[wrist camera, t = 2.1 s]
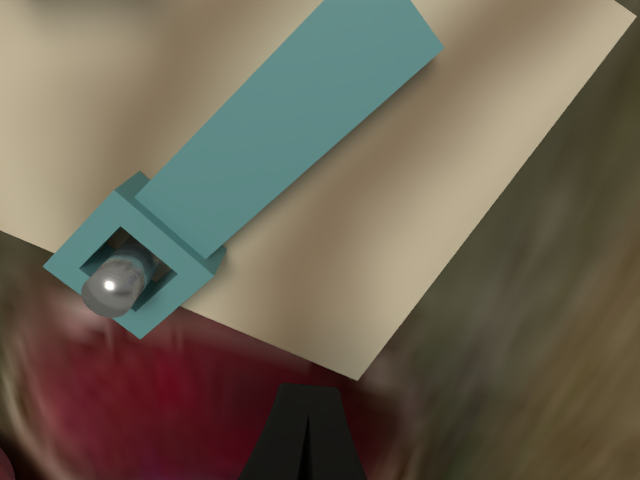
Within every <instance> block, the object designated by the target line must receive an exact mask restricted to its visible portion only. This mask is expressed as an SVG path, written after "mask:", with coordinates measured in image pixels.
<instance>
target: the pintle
mask: <svg viewBox="0 0 640 480" xmlns="http://www.w3.org/2000/svg"><path fill="white" fill-rule="evenodd" d="M162 264H163V261H162V260H161V259H159V258H158V257H157V256H156V255H155V254H153V253H152V252H151V251H150V250H149V249H147V248H146V247H145V246H144V245H143V244H141V243H140V242H139V241H138V240H137V239H135V238H134V237H133V236H132V235H130V236H129V237H128V238H127V239H126V240H125V241H124V243H123V244H122V245H121V246H120V247H119V248H118V249H117V250H116V251H115V252H114V253H113V254H112V255H111V256H110V257H109V258H108V259H107V260H106V261H105V262H104V263H103V264H102V265H101V266H100V267H99V268H98V269H97V270H96V271H95V272H94V273H93V274H92V275H91V277H90V278H89V279H88V280H87V281H86V282H85V283H84V284H83V286H82V289H81V296H82V299H83V301H84V303H85V304H86V306H87V307H88V308H89V309H90V310H92V311H93V312H94V313H96V314H98V315H100V316H103V317H108V318H116V317H120V316H123V315H124V314H126V313H127V312H128V311H129V309H130V308H131V307H132V305H133V304H134V302H135V301H136V300H137V298H138V297H139V296H140V294H141V293H142V291H143V290H144V289H145V287H146V286H147V284H148V283H149V282H150V280H151V279H152V277H153V276H154V275H155V273H156V272H157V270H158V269H159V268H160V266H161V265H162Z"/></svg>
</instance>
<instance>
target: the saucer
mask: <svg viewBox="0 0 640 480" xmlns="http://www.w3.org/2000/svg"><path fill="white" fill-rule="evenodd" d="M0 480H15V474H14V470H13V467H12V465H11V462H10V460H9V459H8V457H7V455H6V454H5V453H4V451H3V450H2V449H1V447H0Z"/></svg>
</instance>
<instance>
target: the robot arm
mask: <svg viewBox="0 0 640 480" xmlns="http://www.w3.org/2000/svg"><path fill="white" fill-rule="evenodd" d="M238 480H367V478H366V475H365V473H364V470H363V467H362V465H361V462H360V460H359V457H358V454H357V451H356V449H355V446H354V443H353V440H352V437H351V433H350V430H349V427H348V424H347V420H346V417H345V413H344V409H343V405H342V400H341V394H340V391H339V390H338V389H337V388H336V387H326V386H315V385H303V384H292V383H283V384H281V385H280V386H279V387H278V391H277V395H276V398H275V401H274V404H273V407H272V409H271V412H270V415H269V417H268V419H267V422H266V424H265V426H264V429H263V431H262V433H261V435H260V437H259V439H258V441H257V443H256V445H255V447H254V449H253V451H252V453H251V455H250V457H249V459H248V462H247V463H246V465H245V467H244V469H243V471H242V473H241V475H240V476H239V478H238Z"/></svg>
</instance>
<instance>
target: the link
mask: <svg viewBox="0 0 640 480" xmlns="http://www.w3.org/2000/svg"><path fill="white" fill-rule="evenodd" d="M443 49H444V46H443V45H442V43H441V42H440V41H439V39H438V38H437V36H436V35H435V34H434V32H433V31H432V29H431V28H430V27H429V25H428V24H427V23H426V21H425V20H424V18H423V17H422V16H421V14H420V13H419V11H418V10H417V9H416V7H415V6H414V4H413V3H412V2H411V0H324V1H323V2H322V3H321V4H320V5H319V6H318V7H317V8H316V9H315V10H314V11H313V12H312V13H311V14H310V15H309V16H308V17H307V18H306V19H305V20H304V21H303V22H302V23H301V24H300V25H299V26H298V28H297V29H296V30H295V31H294V32H293V33H292V34H291V35H290V36H289V37H288V38H287V39H286V40H285V41H284V42H283V43H282V44H281V45H280V46H279V47H278V48H277V49H276V50H275V51H274V52H273V53H272V55H271V56H270V57H269V58H268V59H267V60H266V61H265V62H264V63H263V64H262V65H261V66H260V67H259V68H258V69H257V70H256V71H255V72H254V73H253V74H252V75H251V76H250V77H249V78H248V79H247V80H246V82H245V83H244V84H243V85H242V86H241V87H240V88H239V89H238V90H237V91H236V92H235V93H234V94H233V95H232V96H231V97H230V98H229V99H228V100H227V101H226V102H225V103H224V104H223V105H222V106H221V107H220V109H219V110H218V111H217V112H216V113H215V114H214V115H213V116H212V117H211V118H210V119H209V120H208V121H207V122H206V123H205V124H204V125H203V126H202V127H201V128H200V129H199V130H198V131H197V132H196V133H195V134H194V136H193V137H192V138H191V139H190V140H189V141H188V142H187V143H186V144H185V145H184V146H183V147H182V148H181V149H180V150H179V151H178V152H177V153H176V154H175V155H174V156H173V157H172V158H171V159H170V160H169V161H168V163H167V164H166V165H165V166H164V167H163V168H162V169H161V170H160V171H159V172H158V173H157V174H156V175H155V176H154V177H153V178H152V179H151V180H149V179H148V178H147V177H146V176H145V175H144V174H143V173H141V172H140V171H139V172H137V173H136V174H135V175H133V176H132V177H131V178H129V179H128V180H127V181H125V182H124V183H123V184H121V185H120V186H119V187H117V188H116V189H115V190H113V191H112V193H111V194H110V195H109V196H108V197H107V198H106V199H105V200H104V201H103V202H102V203H101V204H100V205H99V207H98V208H97V209H96V210H95V211H94V212H93V213H92V214H91V215H90V216H89V217H88V218H87V219H86V220H85V222H84V223H83V224H82V225H81V226H80V227H79V228H78V229H77V230H76V231H75V232H74V233H73V234H72V236H71V237H70V238H69V239H68V240H67V241H66V242H65V243H64V244H63V245H62V246H61V247H60V248H59V249H58V251H57V252H56V253H55V254H54V255H53V256H52V257H51V258H50V259H49V260H48V261H47V262H46V263H45V265H44V266H43V267H44V268H45V269H46V270H48V271H49V272H50V273H52V274H53V275H54V276H56V277H57V278H59V279H60V280H61V281H63V282H64V283H65V284H67V285H68V286H69V287H71V288H72V289H73V290H75V291H76V292H77V293H79V294H80V295H81V289H82V286H83V284H84V283H85V282H86V281H87V280H88V279H89V278H90V277H91V275H92V274H93V273H94V272H95V271H96V270H97V269H98V268H99V267H100V266H101V265H102V264H103V263H104V262H105V261H106V260H107V259H108V258H109V257H110V256H111V255H112V254H113V253H114V252H115V251H116V250H115V249H113V248H112V247H111V246H110V245H108V244H107V243H106V242H107V241H108V240H109V239H110V238H111V237H112V236H113V235H114V234H115V233H116V232H117V231H118V230H119V229H120V228H121V227H122V228H123V229H125V230H126V231H127V232H128V233H129V234H131V235H132V236H133V237H134V238H135V239H137V240H138V241H139V242H140V243H141V244H143V245H144V246H145V247H146V248H147V249H149V250H150V251H151V252H152V253H153V254H155V255H156V256H157V257H158V258H159V259H161V260H162V261H163V262H164V263H165V264H167V265H168V266H169V267H170V268H171V269H170V270H169V271H168V272H167V273H166V274H165V275H164V276H163V277H162V278H161V279H159V280H158V281H157V282H156V283H155V282H154V281H153V280H152V279H151V280H150V282H149V283H148V284H147V286H146V287H145V289H144V290H143V291H142V293H141V294H140V296H139V297H138V298H137V300H136V301H135V302H134V304H133V305H132V307H131V308H130V309H129V311H128V312H127V313H126V314H124V315H123V316H120V317H116V318H112V319H114V320H115V321H116V322H118V323H119V324H120V325H122V326H123V327H124V328H126V329H127V330H128V331H130V332H131V333H132V334H134V335H135V336H136V337H138V338H139V339H141V338H143V337H144V336H145V335H146V334H147V333H148V332H150V331H151V330H152V329H153V328H154V327H155V326H157V325H158V324H159V323H160V322H161V321H162V320H164V319H165V318H166V317H167V316H168V315H169V314H171V313H172V312H173V311H174V310H175V309H176V308H178V307H179V306H180V305H181V304H182V303H183V302H185V301H186V300H187V299H188V298H189V297H190V296H192V295H193V294H194V293H195V292H196V291H197V290H199V289H200V288H201V287H202V286H203V285H204V284H206V283H207V282H208V281H209V280H210V279H211V278H213V277H214V276H215V273H216V271H217V269H218V267H219V265H220V263H221V261H222V259H223V257H224V255H225V252H226V250H227V249H226V248H225V247H224V246H223V245H222V244H223V243H225V242H226V241H227V240H228V239H229V238H230V237H231V236H232V235H234V234H235V233H236V232H237V231H238V230H239V229H240V228H241V227H243V226H244V225H245V224H246V223H247V222H248V221H249V220H251V219H252V218H253V217H254V216H255V215H256V214H257V213H258V212H260V211H261V210H262V209H263V208H264V207H265V206H266V205H268V204H269V203H270V202H271V201H272V200H273V199H274V198H275V197H277V196H278V195H279V194H280V193H281V192H282V191H283V190H284V189H286V188H287V187H288V186H289V185H290V184H291V183H292V182H294V181H295V180H296V179H297V178H298V177H299V176H300V175H301V174H303V173H304V172H305V171H306V170H307V169H308V168H309V167H310V166H312V165H313V164H314V163H315V162H316V161H317V160H318V159H320V158H321V157H322V156H323V155H324V154H325V153H326V152H327V151H329V150H330V149H331V148H332V147H333V146H334V145H335V144H336V143H338V142H339V141H340V140H341V139H342V138H343V137H344V136H346V135H347V134H348V133H349V132H350V131H351V130H352V129H353V128H355V127H356V126H357V125H358V124H359V123H360V122H361V121H362V120H364V119H365V118H366V117H367V116H368V115H369V114H370V113H372V112H373V111H374V110H375V109H376V108H377V107H378V106H379V105H381V104H382V103H383V102H384V101H385V100H386V99H387V98H389V97H390V96H391V95H392V94H393V93H394V92H395V91H396V90H398V89H399V88H400V87H401V86H402V85H403V84H404V83H405V82H407V81H408V80H409V79H410V78H411V77H412V76H413V75H415V74H416V73H417V72H418V71H419V70H420V69H421V68H422V67H424V66H425V65H426V64H427V63H428V62H429V61H430V60H431V59H433V58H434V57H435V56H436V55H437V54H438V53H439V52H441V51H442V50H443Z"/></svg>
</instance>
